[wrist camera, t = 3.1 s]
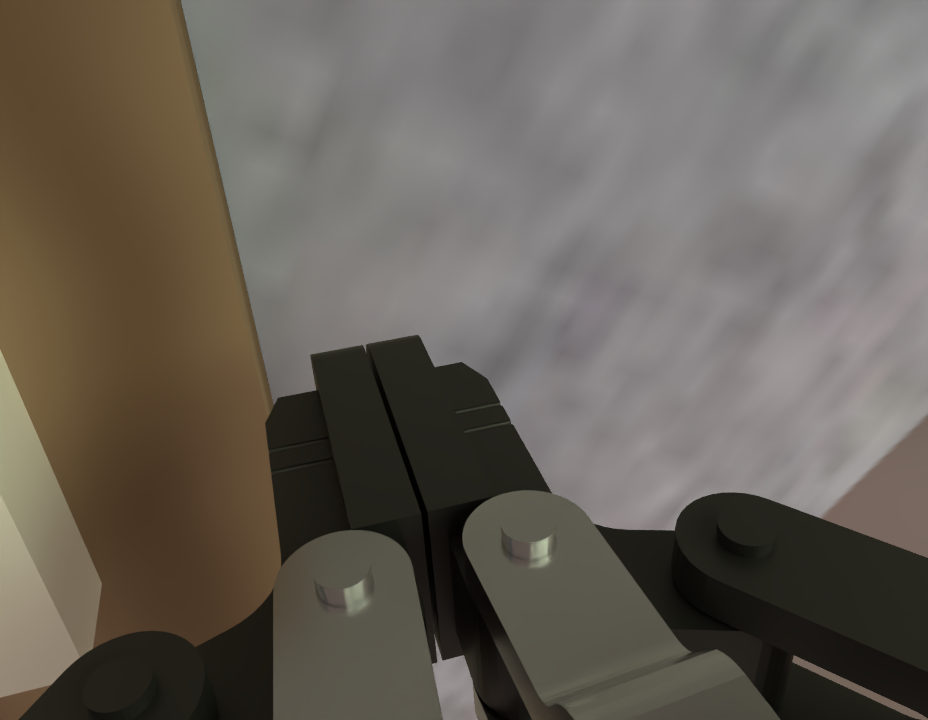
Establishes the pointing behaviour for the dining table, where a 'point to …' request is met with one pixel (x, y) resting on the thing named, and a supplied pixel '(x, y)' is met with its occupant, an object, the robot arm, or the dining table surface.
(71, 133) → the brown wooden board
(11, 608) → the tile
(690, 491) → the dining table surface
